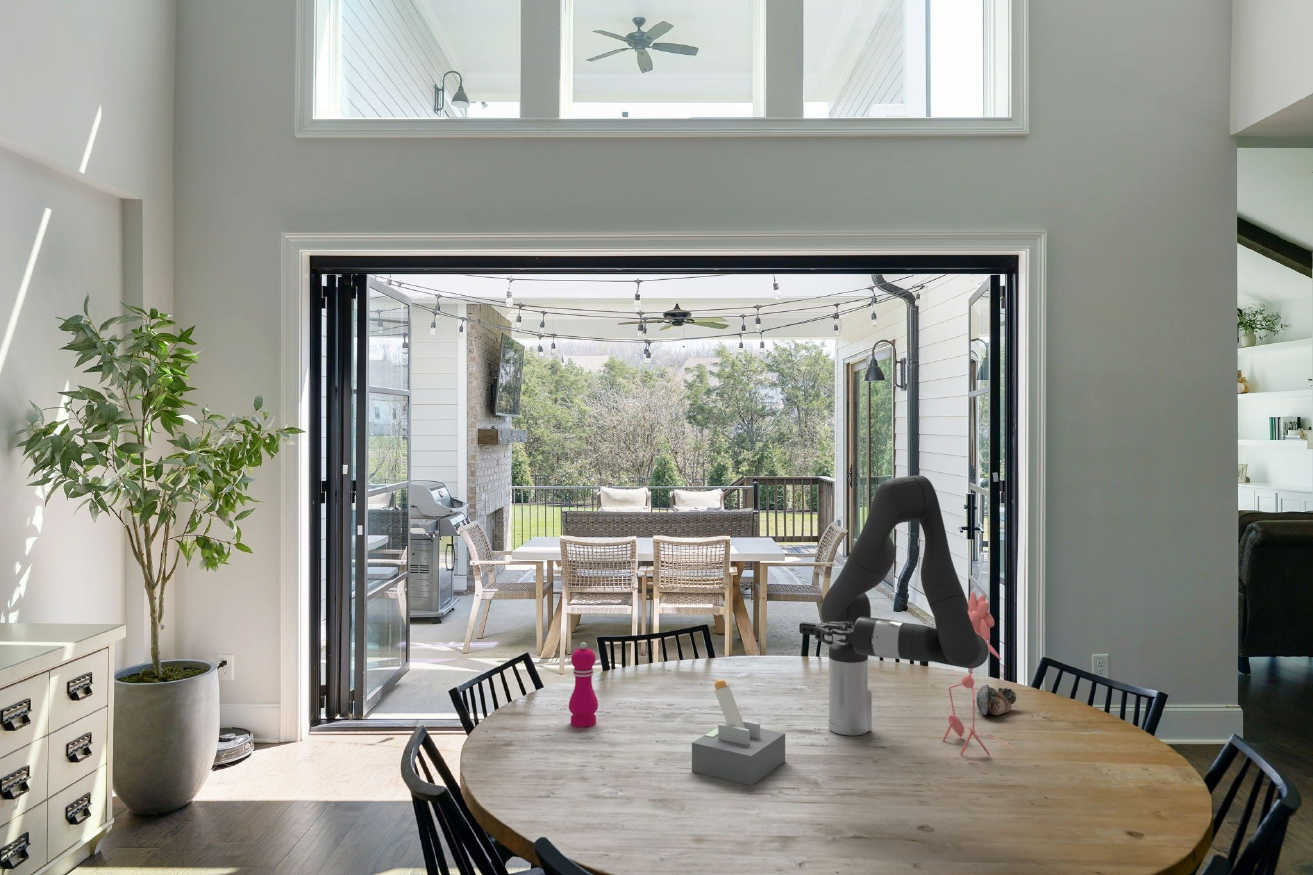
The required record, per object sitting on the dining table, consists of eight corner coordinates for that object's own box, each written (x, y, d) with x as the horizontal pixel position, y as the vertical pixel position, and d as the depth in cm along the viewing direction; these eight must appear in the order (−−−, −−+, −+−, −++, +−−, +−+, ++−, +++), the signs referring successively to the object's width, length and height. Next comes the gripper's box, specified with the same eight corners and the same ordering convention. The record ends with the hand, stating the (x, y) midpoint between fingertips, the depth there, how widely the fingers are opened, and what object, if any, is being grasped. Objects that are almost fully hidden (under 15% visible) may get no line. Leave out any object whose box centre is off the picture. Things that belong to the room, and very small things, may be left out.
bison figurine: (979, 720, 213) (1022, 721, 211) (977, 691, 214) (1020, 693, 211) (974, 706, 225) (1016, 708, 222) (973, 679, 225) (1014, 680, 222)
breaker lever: (739, 736, 184) (717, 679, 187) (748, 733, 183) (726, 676, 186) (732, 740, 182) (710, 683, 185) (742, 737, 180) (719, 679, 183)
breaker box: (728, 748, 193) (728, 708, 193) (785, 761, 185) (785, 719, 185) (691, 771, 180) (691, 728, 180) (751, 785, 172) (751, 741, 172)
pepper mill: (593, 729, 206) (593, 646, 206) (564, 727, 207) (564, 644, 208) (601, 719, 213) (601, 639, 213) (573, 717, 215) (573, 638, 215)
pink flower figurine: (974, 769, 180) (977, 603, 180) (924, 729, 206) (927, 583, 206) (1043, 768, 181) (1046, 603, 182) (985, 728, 207) (988, 584, 208)
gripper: (891, 613, 177) (813, 604, 186) (869, 624, 166) (787, 615, 175) (891, 649, 177) (813, 639, 186) (869, 663, 166) (787, 651, 175)
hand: (800, 627), depth 181 cm, fingers closed
